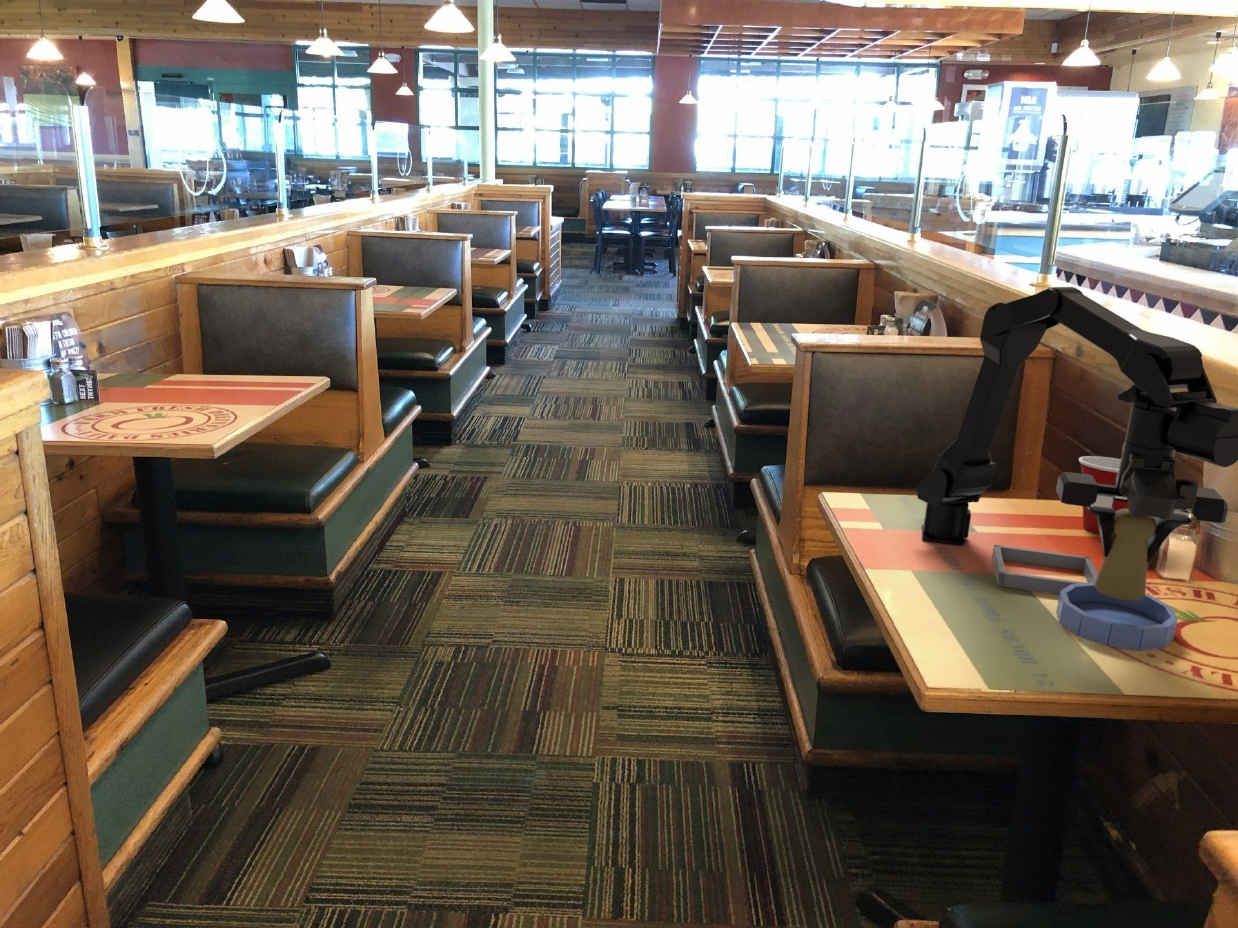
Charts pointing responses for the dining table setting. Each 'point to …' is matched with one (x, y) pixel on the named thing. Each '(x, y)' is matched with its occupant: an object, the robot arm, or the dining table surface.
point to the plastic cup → (1103, 473)
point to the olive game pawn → (1126, 557)
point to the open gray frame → (1041, 559)
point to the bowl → (1116, 618)
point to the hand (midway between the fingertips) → (1125, 558)
